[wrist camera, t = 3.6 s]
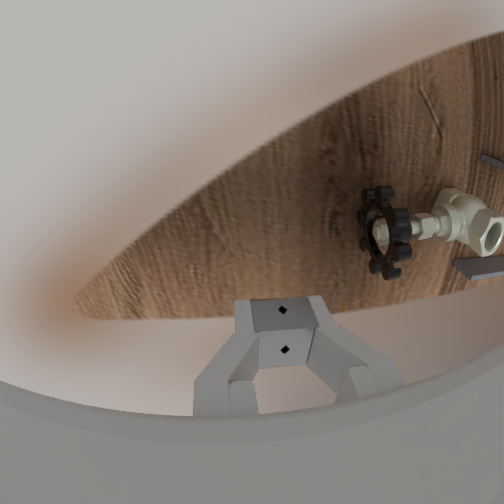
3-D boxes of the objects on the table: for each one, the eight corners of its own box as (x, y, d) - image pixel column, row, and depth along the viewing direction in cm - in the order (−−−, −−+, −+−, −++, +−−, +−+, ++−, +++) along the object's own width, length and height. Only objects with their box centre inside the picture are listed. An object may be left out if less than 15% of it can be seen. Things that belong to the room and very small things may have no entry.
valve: (463, 170, 19) (356, 173, 18) (514, 196, 13) (406, 204, 13) (454, 233, 22) (354, 251, 22) (495, 268, 16) (390, 301, 16)
